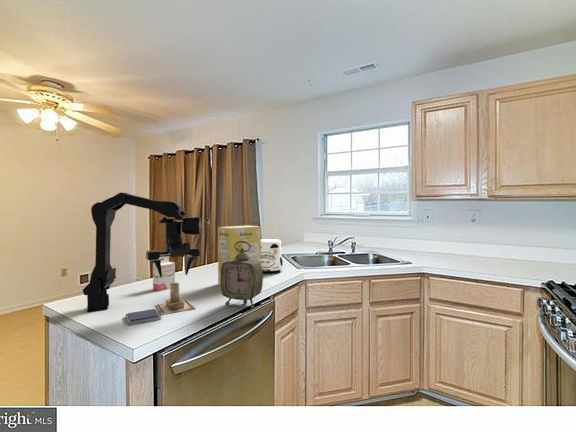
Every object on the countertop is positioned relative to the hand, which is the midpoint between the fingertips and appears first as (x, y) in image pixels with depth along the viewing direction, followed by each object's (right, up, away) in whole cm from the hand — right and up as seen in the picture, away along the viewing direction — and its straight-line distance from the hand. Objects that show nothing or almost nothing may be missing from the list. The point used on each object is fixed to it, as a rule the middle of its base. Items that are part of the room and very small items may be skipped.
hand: (173, 276), depth 120 cm
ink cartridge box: (-14, -11, +28) cm, 33 cm away
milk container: (+31, -10, +66) cm, 73 cm away
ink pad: (-7, -12, -11) cm, 18 cm away
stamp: (0, -12, 0) cm, 12 cm away
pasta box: (+19, -11, +38) cm, 44 cm away
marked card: (0, -12, 0) cm, 12 cm away
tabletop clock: (+26, -12, +3) cm, 29 cm away
